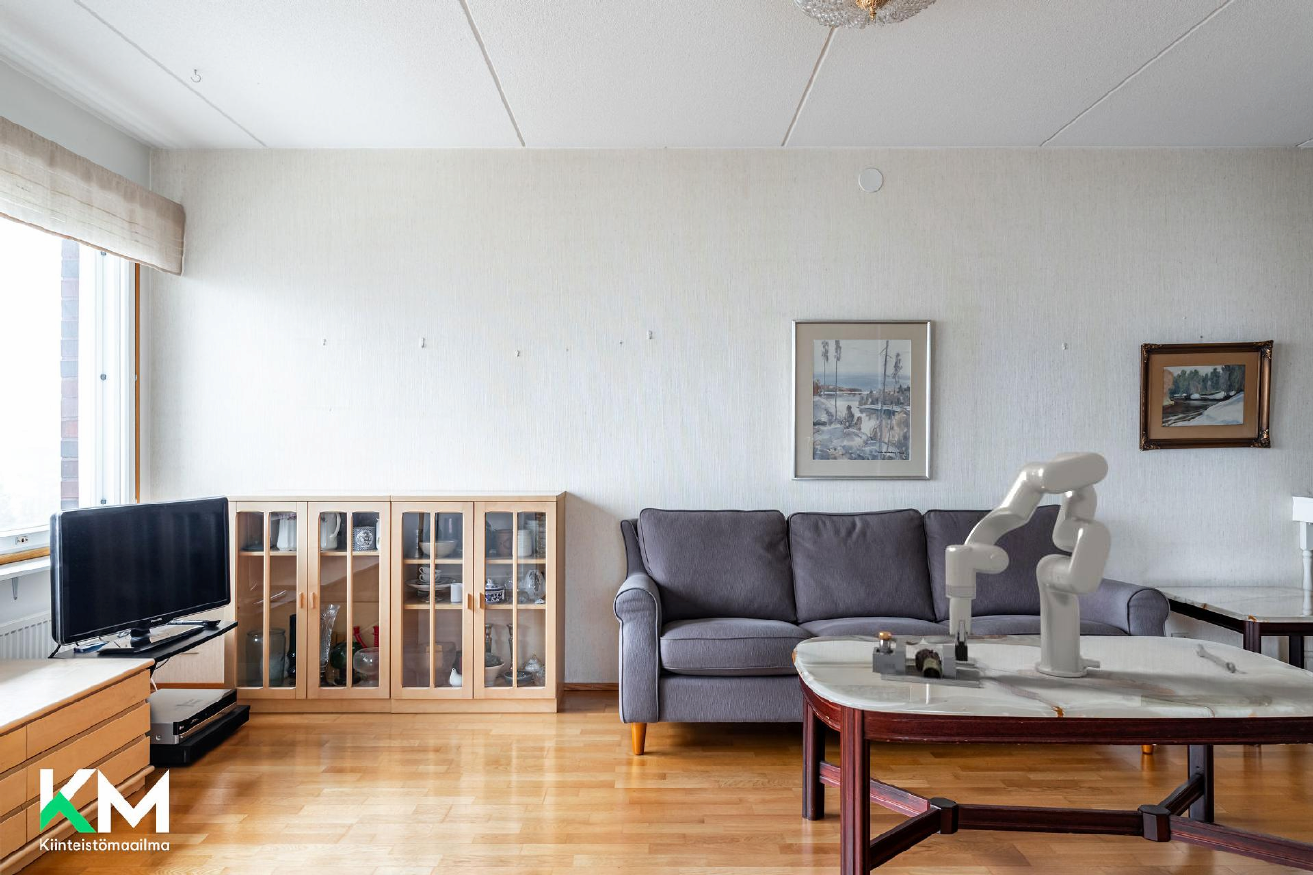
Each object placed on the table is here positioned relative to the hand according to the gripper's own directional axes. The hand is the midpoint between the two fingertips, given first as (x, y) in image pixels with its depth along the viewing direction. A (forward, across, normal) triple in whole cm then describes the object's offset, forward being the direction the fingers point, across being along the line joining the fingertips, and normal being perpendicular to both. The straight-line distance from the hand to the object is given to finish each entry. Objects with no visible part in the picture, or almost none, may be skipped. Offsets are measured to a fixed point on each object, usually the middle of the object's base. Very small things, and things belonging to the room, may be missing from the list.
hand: (961, 660), depth 210 cm
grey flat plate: (+4, 0, -8) cm, 9 cm away
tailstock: (+4, 0, -18) cm, 19 cm away
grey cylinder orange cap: (+4, 0, -20) cm, 20 cm away
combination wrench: (+5, -36, +68) cm, 77 cm away
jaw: (+4, 0, -3) cm, 5 cm away
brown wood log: (+5, 0, -8) cm, 9 cm away
